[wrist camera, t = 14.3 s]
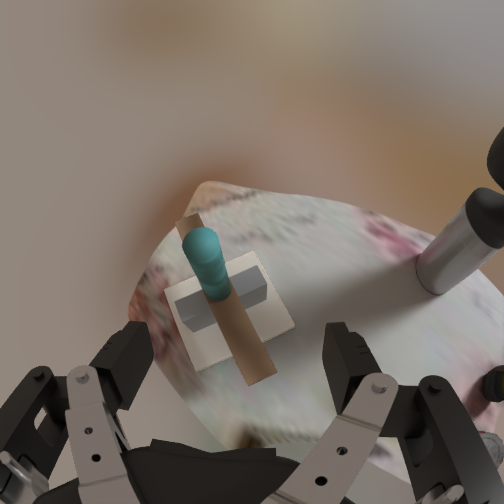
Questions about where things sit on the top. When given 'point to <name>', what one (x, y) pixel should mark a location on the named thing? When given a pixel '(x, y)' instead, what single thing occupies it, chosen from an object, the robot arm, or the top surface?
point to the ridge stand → (204, 323)
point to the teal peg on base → (224, 299)
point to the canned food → (493, 446)
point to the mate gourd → (494, 384)
